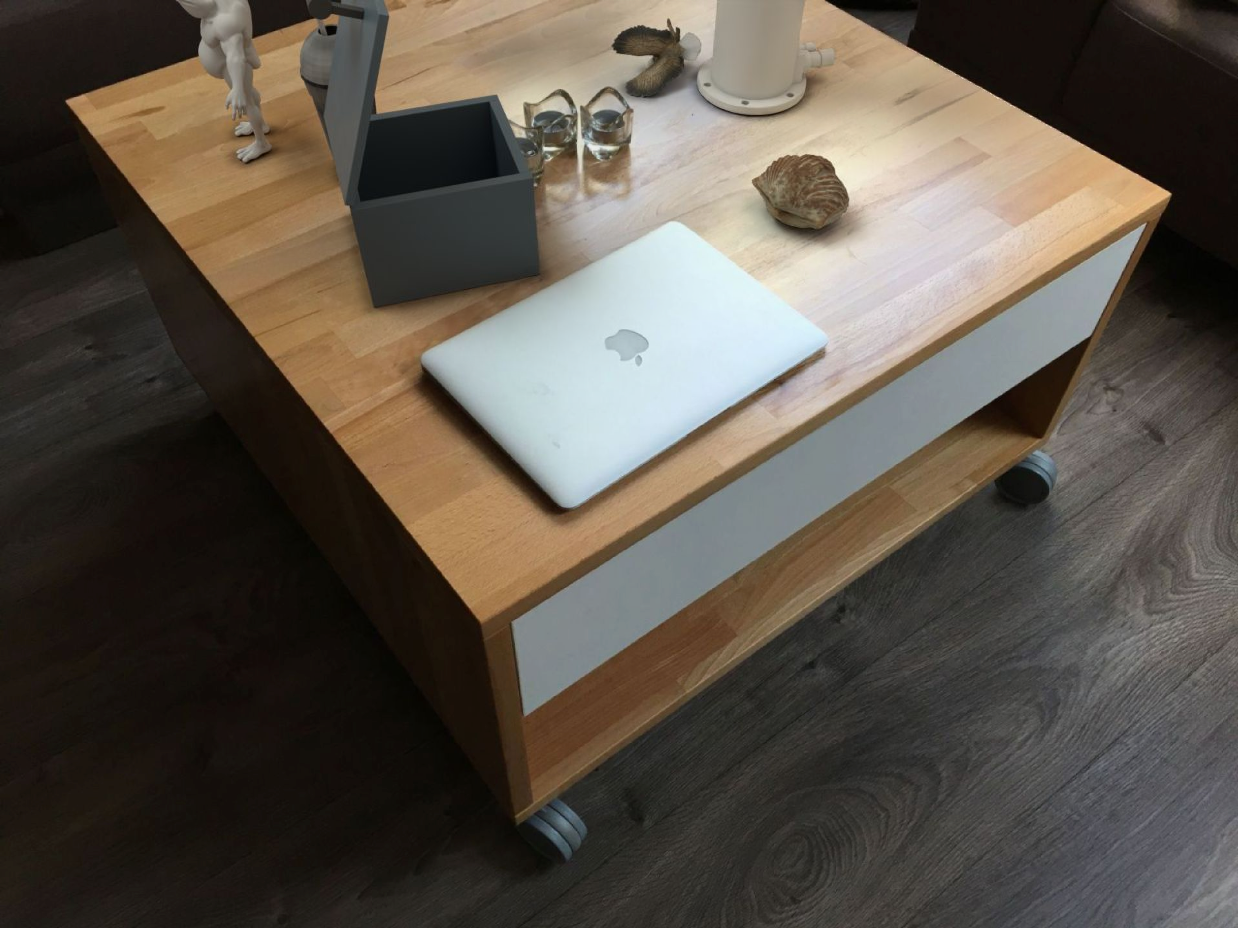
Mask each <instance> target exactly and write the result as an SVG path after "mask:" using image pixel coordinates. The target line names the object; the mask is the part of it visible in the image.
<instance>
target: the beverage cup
mask: <svg viewBox="0 0 1238 928" xmlns="http://www.w3.org/2000/svg"><path fill="white" fill-rule="evenodd" d="M315 19H316V18H315ZM316 22H317V26H318V27H316V28H315V29H313V30H312V31H311V32H310V33H309V34H307V36H306V37H305V38H304V41H303V43H302V45H301V48H300V50H299V51H300V52H299V65H300V67H299V75H300V78H301V80H302V81H303V82H304V86H305V87H306V90H307V92H308V94H309V96H310V97H311V99H312V102H313V104H314V107H315V110H316V113H317V116H318V119H319V121H320V124H321V127H322V130H323V133H324V137H325V139H326V142H327V144H328V148H329V150H330V153H331V156H332V159H333V160H334V157H333V153H332V149H331V145H330V140H329V136H328V132H327V128H326V123H325V119H324V111H325V104H326V98H327V91H328V85H329V78H330V72H331V65H332V59H333V52H334V45H335V39H336V32H337V26H338V23H337V24H336V23H329V24H325V23H324V21H323V20H319V19H316ZM376 103H377V101H376V95H375V96H374V101H373V107H372V112H371V115H373V114H378V112H377V104H376Z"/></svg>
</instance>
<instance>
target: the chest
mask: <svg viewBox="0 0 1238 928" xmlns="http://www.w3.org/2000/svg"><path fill="white" fill-rule="evenodd" d="M510 123H511V122H510V121H509V119H508V117H507V114H506V112H505V110H504V108H503V105H502V103H501V100H500V98H499V96H498V94H489V95H484V96H477V97H472V98H466V99H465V98H464V99H459V100H453V101H448V102H441V103H436V104H435V103H434V104H429V105H423V106H416V107H410V108H405V109H399V110H392V111H387V112H380V113H379V112H378V113H377V114H373V115H371V117H370V123H369V128H368V134H367V139H366V144H365V150H364V155H363V160H362V166H361V171H360V176H359V182H358V187H357V193H356V198H355V203H354V206H348V207H349V211H350V214H351V219H352V224H353V227H354V231H355V235H356V240H357V244H358V248H359V252H360V256H361V261H362V264H363V269H364V273H365V277H366V281H367V286H368V290H369V293H370V298H371V302H372V306H373V307H372V308H378V307H383V306H389V305H394V304H398V303H404V302H408V301H413V300H419V299H424V298H429V297H434V296H438V295H443V294H447V293H453V292H459V291H463V290H469V289H474V288H479V287H484V286H489V285H494V284H499V283H503V282H508V281H514V280H518V279H519V280H520V279H524V278H528V277H533V276H539V275H541V268H540V255H539V253H540V252H539V239H538V226H537V210H536V196H535V183H534V181H535V180H534V176H533V174H532V171H531V170H530V167H529V164H528V162H527V160H526V158H525V155H524V153H523V152H522V148H521V146H520V144H519V142H518V139H517V137H516V135H515V133H514V130H513V128H512V126H511V124H510Z"/></svg>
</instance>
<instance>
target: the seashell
mask: <svg viewBox="0 0 1238 928" xmlns="http://www.w3.org/2000/svg"><path fill="white" fill-rule="evenodd" d="M751 184H752V185H753V187H754V188H755V189H756V190H757V192H758V193H759V194H760V196H761V197H762V199H763V201H764V203H765V206H766V208H767V211H768V213H769V214H770V216H771V217H772V218H773V219H777V220H779V221H780V222H781V223H783V224H785V225H788V226H791V227H795V228H801V229H807V228H808V229H809V228H813V229H815V230H821V229H822V228H823V227H825V226H827V225H831V224H832V223H834V222H835V221H837V220H839V219H841V217H842V216H843V215H844V214H845V213H846V212H847V210H848V208H849V206H850V204H849V202H850V197H849V192H848V189H847V188H846V186H845V184H844V182H843V181H842V180H841V179H840V177H839V176H838V175H837V174H836V168H835V167H834V164H833V163H832V161H830V160H829V159H828V158H825V157H824V156H822V155H815V154H809V153H805V154H802V155H801V156H799V155H798V154H792V155H791V154H786V155H784V156H781V157H778V159H777V160H773V161H772V163H771V164H770V165H768V166H767V167H766V169H765V171H764V172H762V173H761V174H760V175H759V176H756V177H754V178H753V179H752V180H751Z"/></svg>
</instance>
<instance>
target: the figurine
mask: <svg viewBox="0 0 1238 928" xmlns="http://www.w3.org/2000/svg"><path fill="white" fill-rule="evenodd" d="M175 1H176V2H177V3H178V4H180V6H181V7H182V8H183V9H184V10H185V11H186V12H187V13H188V14H189V15H191V16H192V17H194V18H196V19H201V20H200V26H199V27H200V36H201V39H200V41H199V45H198V58H199V62H200V64H201V65H202V68H203V69H204V71H205V72H206V73H207V74H208V75H209V76H211V77H213V78H215V79H218V80H224V82H225V83H226V85H227V86H228V88H229V89H230V92H229V93H228V95H227V96H226V100H225V103H224V106H225V110H227V111H228V110H229V109H230V105H231V109H232V110H231V112H232V117H231V120H232V121H236V120H237V119H239V120H241V119H242V118H243V116H246V118H247V119H248V121H241V122H239V125H237V126H235V131H234V135H235V136H237V137H239V136H241V135H244V136H248V135H249V136H250V135H251V134H252V133H253V134H254V138H255V140H254V141H253V142H251V144H249V145H248V146H245V147H242V148H239V149H238V150H236V151H235V153H236V155H237V159H238V160H242V162H243V163H248V162H249V161H250V160H255V159H257V158H259V157H260V156H261V155H262V154H265V153H267V152H270V150H272V144H271V143H270V142H268V140H267V138H266V136H265V134H267V133H269V132H270V126H269V124H267V123H266V121H265V119H264V117H263V112H262V104H261V102H262V97H261V93H260V92H259V90H257V88H256V87H255V86H254V85H253V84H254V70H258V69H260V68H261V66H262V63H261V59H260V57H259V54H258V52H257V50H256V48H255V46H254V45H255V44H254V42H253V20H252V19H253V18H252V11H251V7H250V4H249V1H248V0H175ZM236 117H237V119H236Z"/></svg>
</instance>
